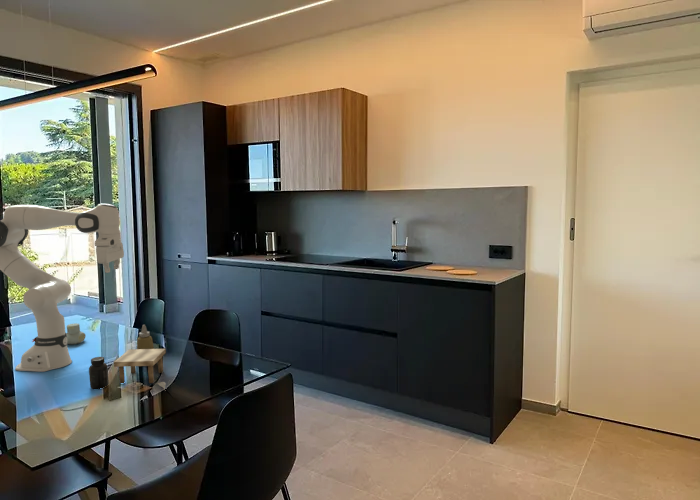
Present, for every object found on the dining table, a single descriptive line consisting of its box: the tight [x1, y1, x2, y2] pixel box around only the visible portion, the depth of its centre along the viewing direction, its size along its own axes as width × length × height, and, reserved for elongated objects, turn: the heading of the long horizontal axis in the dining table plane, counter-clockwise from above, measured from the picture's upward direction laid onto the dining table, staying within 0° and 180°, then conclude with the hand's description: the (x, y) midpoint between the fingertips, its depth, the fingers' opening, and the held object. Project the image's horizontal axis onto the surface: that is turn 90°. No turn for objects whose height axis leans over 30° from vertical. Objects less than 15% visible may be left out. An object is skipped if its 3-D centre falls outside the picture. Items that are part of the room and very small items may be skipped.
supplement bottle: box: [88, 356, 110, 390], centre depth 204 cm, size 7×7×12 cm
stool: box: [113, 348, 167, 384], centre depth 214 cm, size 16×16×10 cm
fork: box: [155, 381, 167, 390], centre depth 201 cm, size 3×21×3 cm, turn 43°
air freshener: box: [66, 322, 86, 345], centre depth 263 cm, size 11×8×10 cm
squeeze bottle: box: [136, 324, 155, 349], centre depth 232 cm, size 8×8×18 cm
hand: (112, 270), depth 223 cm, fingers open, 8 cm apart
